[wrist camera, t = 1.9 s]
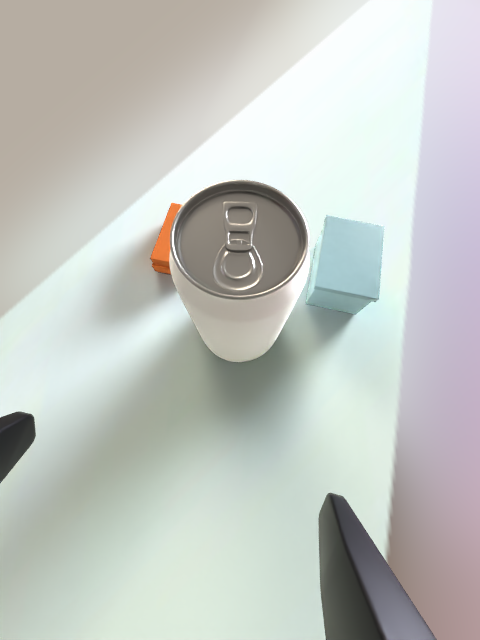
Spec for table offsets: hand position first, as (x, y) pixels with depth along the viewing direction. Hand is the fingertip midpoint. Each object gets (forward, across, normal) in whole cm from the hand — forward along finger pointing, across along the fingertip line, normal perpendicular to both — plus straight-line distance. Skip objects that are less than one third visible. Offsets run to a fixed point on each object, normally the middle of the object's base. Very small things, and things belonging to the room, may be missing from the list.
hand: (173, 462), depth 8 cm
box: (+19, -7, -4) cm, 20 cm away
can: (+15, 0, +1) cm, 15 cm away
